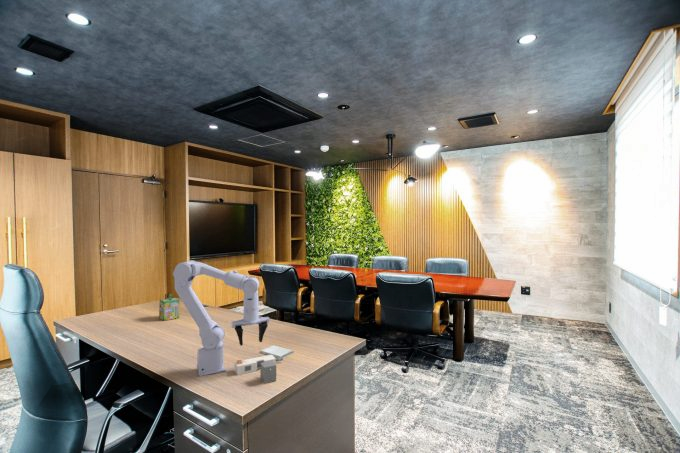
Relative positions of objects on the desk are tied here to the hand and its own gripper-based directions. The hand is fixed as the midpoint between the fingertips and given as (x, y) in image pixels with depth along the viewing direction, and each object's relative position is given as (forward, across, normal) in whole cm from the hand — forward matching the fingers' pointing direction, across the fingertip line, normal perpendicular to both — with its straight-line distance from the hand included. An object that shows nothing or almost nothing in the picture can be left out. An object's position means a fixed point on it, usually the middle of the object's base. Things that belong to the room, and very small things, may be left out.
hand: (250, 343), depth 129 cm
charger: (+10, +3, -13) cm, 17 cm away
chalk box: (+10, -25, +97) cm, 101 cm away
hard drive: (+11, +14, +11) cm, 21 cm away
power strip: (+10, +3, -1) cm, 11 cm away
